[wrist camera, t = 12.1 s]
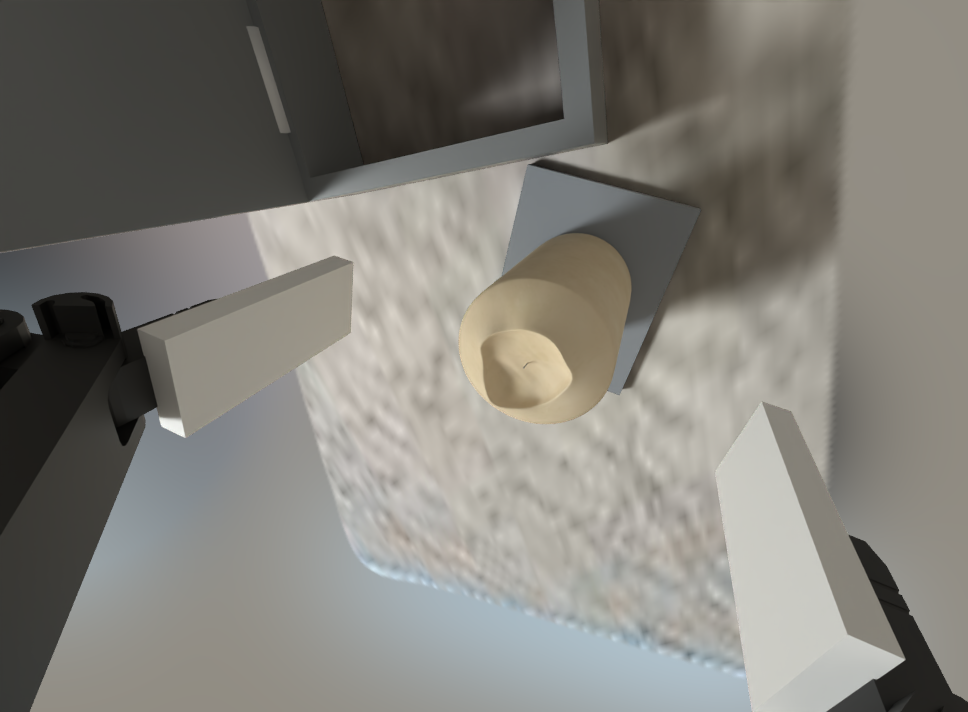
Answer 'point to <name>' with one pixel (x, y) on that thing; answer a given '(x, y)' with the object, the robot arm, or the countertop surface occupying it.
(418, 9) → the countertop surface
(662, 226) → the mat
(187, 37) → the case
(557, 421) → the candle
